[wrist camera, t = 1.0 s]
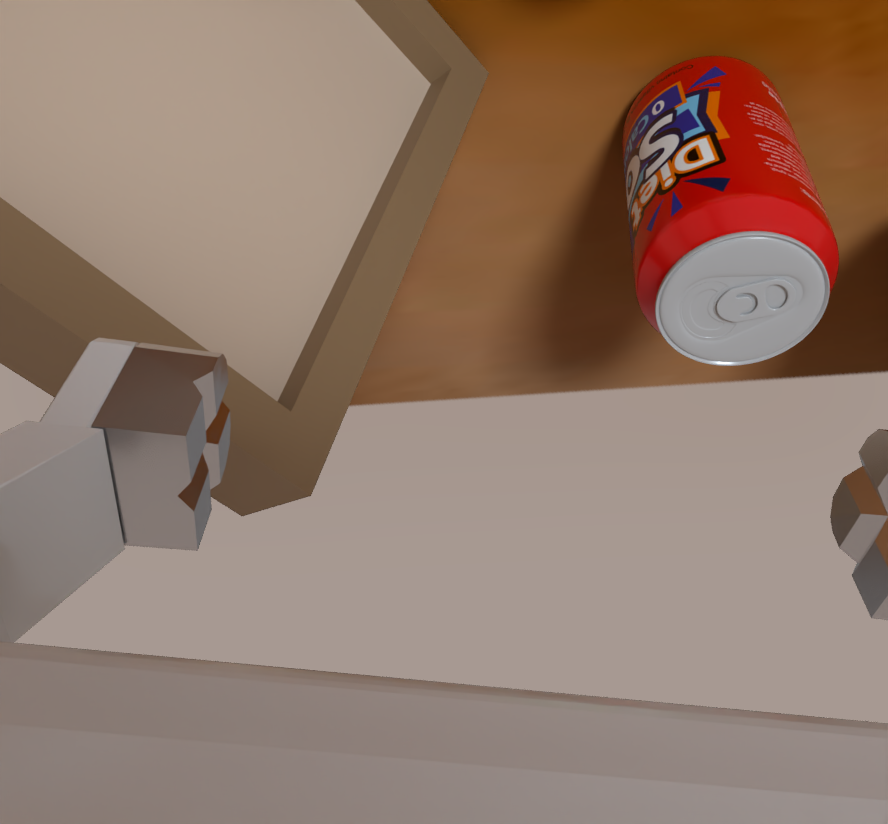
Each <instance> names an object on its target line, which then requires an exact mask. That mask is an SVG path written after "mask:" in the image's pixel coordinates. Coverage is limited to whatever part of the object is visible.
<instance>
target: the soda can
mask: <svg viewBox="0 0 888 824" xmlns="http://www.w3.org/2000/svg"><path fill="white" fill-rule="evenodd" d="M622 150H623V162H624V173H625V184H626V195H627V206H628V217H629V228H630V238H631V249H632V260H633V271H634V282H635V289H636V295H637V300H638V303H639V305H640V308H641V310H642V312H643V314H644V316H645V318H646V319H647V321H648V322H649V323H650V324H651V326H652V327H653V328H654V329H655V330H656V331H658V332H659V333H660V334H661V335H663V337H664V338H665V340H666V341H667V342H668V343H669V344H670V345H671V346H672V347H673V348H674V349H675V350H677V351H678V352H680V353H681V354H683V355H685V356H687V357H689V358H691V359H693V360H696V361H699V362H703V363H707V364H712V365H722V366H734V365H745V364H751V363H755V362H759V361H763V360H766V359H769V358H771V357H774V356H776V355H779V354H781V353H783V352H785V351H786V350H788V349H790V348H791V347H793V346H794V345H796V344H797V343H799V342H800V341H801V340H803V339H804V338H805V337H806V336H807V335H808V334H809V333H810V332H811V331H812V330H813V329H814V328H815V326H816V325H817V324H818V322H819V321H820V319H821V318H822V316H823V314H824V312H825V309H826V307H827V304H828V300H829V295H830V293H831V291H832V289H833V286H834V284H835V281H836V278H837V274H838V267H839V254H838V246H837V242H836V239H835V236H834V233H833V230H832V227H831V225H830V222H829V219H828V217H827V214H826V212H825V209H824V207H823V204H822V202H821V199H820V197H819V194H818V192H817V189H816V186H815V184H814V181H813V179H812V176H811V174H810V171H809V169H808V166H807V164H806V161H805V159H804V156H803V154H802V151H801V148H800V146H799V143H798V141H797V138H796V136H795V133H794V131H793V128H792V126H791V123H790V121H789V118H788V115H787V113H786V110H785V108H784V105H783V103H782V100H781V98H780V96H779V94H778V92H777V90H776V88H775V87H774V85H773V84H772V82H771V81H770V80H769V79H768V78H767V76H766V75H765V74H764V73H762V72H761V71H760V70H759V69H757V68H756V67H754V66H753V65H751V64H749V63H747V62H745V61H742V60H739V59H736V58H732V57H725V56H705V57H698V58H694V59H690V60H687V61H684V62H681V63H679V64H677V65H674V66H672V67H670V68H669V69H667V70H665V71H664V72H662V73H661V74H659V75H658V76H657V77H655V78H654V79H653V80H652V81H651V82H650V83H648V84H647V85H646V87H645V88H644V89H643V90H642V91H641V92H640V94H639V95H638V96H637V98H636V99H635V101H634V102H633V104H632V106H631V108H630V110H629V112H628V115H627V117H626V121H625V124H624V129H623V137H622Z"/></svg>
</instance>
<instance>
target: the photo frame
mask: <svg viewBox="0 0 888 824" xmlns="http://www.w3.org/2000/svg"><path fill="white" fill-rule="evenodd" d="M488 74H489V73H488V72H487V70H486V69H485V68H484V67H483V66H482V64H481V63H480V62H479V61H478V60H477V59H476V57H475V56H474V55H473V54H472V53H471V52H470V50H469V49H468V48H467V47H466V46H465V45H464V43H463V42H462V41H461V40H460V39H459V38H458V36H457V35H456V34H455V33H454V32H453V31H452V29H451V28H450V27H449V26H448V25H447V23H446V22H445V21H444V20H443V19H442V18H441V16H440V15H439V14H438V13H437V12H436V11H435V9H434V8H433V7H432V6H431V5H430V4H429V2H428V1H427V0H0V363H1V364H3V365H5V366H6V367H8V368H9V369H11V370H12V371H14V372H15V373H17V374H19V375H20V376H22V377H23V378H25V379H26V380H28V381H30V382H31V383H33V384H35V385H36V386H37V387H39V388H41V389H42V390H44V391H45V392H47V393H48V394H50V395H52V396H53V397H55V396H56V395H57V393H58V392H59V390H60V388H61V387H62V385H63V384H64V382H65V381H66V379H67V377H68V376H69V374H70V373H71V371H72V369H73V368H74V366H75V365H76V363H77V362H78V360H79V358H80V357H81V355H82V354H83V352H84V350H85V349H86V347H87V346H88V344H89V343H90V342H91V341H93V340H95V339H97V338H106V339H115V340H123V341H131V342H137V343H148V344H156V345H163V346H171V347H178V348H185V349H193V350H200V351H207V352H215V353H222V354H223V355H224V356H225V358H226V360H227V370H228V384H227V387H226V390H225V393H224V395H223V398H222V401H223V403H224V404H225V405H226V406H227V407H228V408H229V409H230V423H231V428H230V445H229V450H228V456H227V462H226V466H225V470H224V473H223V476H222V479H221V483H220V484H218V485H217V486H215V487H214V488H212V489H211V490H210V494H211V497H213V498H214V499H216V500H217V501H219V502H220V503H222V504H223V505H225V506H227V507H228V508H230V509H231V510H233V511H234V512H236V513H238V514H239V515H241V516H245V515H248V514H251V513H254V512H258V511H261V510H264V509H268V508H271V507H275V506H277V505H281V504H285V503H288V502H291V501H295V500H298V499H301V498H305V497H308V496H311V494H312V492H313V489H314V487H315V485H316V482H317V480H318V477H319V475H320V473H321V470H322V468H323V466H324V463H325V461H326V458H327V456H328V454H329V451H330V449H331V446H332V444H333V442H334V440H335V437H336V435H337V432H338V430H339V427H340V425H341V423H342V420H343V418H344V416H345V413H346V411H347V409H348V406H349V404H350V402H351V399H352V397H353V394H354V392H355V390H356V387H357V385H358V383H359V380H360V378H361V375H362V373H363V371H364V368H365V366H366V364H367V361H368V359H369V356H370V354H371V352H372V349H373V347H374V345H375V342H376V340H377V337H378V335H379V333H380V330H381V328H382V326H383V323H384V321H385V318H386V316H387V314H388V311H389V309H390V307H391V304H392V302H393V299H394V297H395V295H396V292H397V290H398V288H399V285H400V283H401V280H402V278H403V276H404V273H405V271H406V269H407V266H408V264H409V261H410V259H411V257H412V254H413V252H414V250H415V247H416V245H417V242H418V240H419V238H420V235H421V233H422V231H423V228H424V226H425V223H426V221H427V219H428V216H429V214H430V212H431V209H432V207H433V204H434V202H435V200H436V197H437V195H438V193H439V190H440V188H441V185H442V183H443V181H444V178H445V176H446V174H447V171H448V169H449V166H450V164H451V162H452V159H453V157H454V155H455V152H456V150H457V147H458V145H459V143H460V140H461V138H462V136H463V133H464V131H465V128H466V126H467V124H468V121H469V119H470V117H471V114H472V112H473V109H474V107H475V105H476V102H477V100H478V98H479V95H480V93H481V90H482V88H483V86H484V83H485V81H486V79H487V76H488Z"/></svg>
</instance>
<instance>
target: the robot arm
mask: <svg viewBox="0 0 888 824" xmlns="http://www.w3.org/2000/svg"><path fill="white" fill-rule="evenodd" d="M227 384H228V370H227V360H226V358H225V356H224V355H223V354H222V353H215V352H207V351H200V350H193V349H185V348H178V347H171V346H163V345H156V344H148V343H137V342H131V341H123V340H115V339H106V338H97V339H95V340H93V341H91V342H90V343H89V344H88V346H87V347H86V349H85V350H84V352H83V354H82V355H81V357H80V358H79V360H78V362H77V363H76V365H75V366H74V368H73V369H72V371H71V373H70V374H69V376H68V377H67V379H66V381H65V382H64V384H63V385H62V387H61V388H60V390H59V392H58V393H57V395H56V396H55V398H54V400H53V401H52V403H51V404H50V406H49V408H48V409H47V411H46V412H45V414H44V415H43V417H42V419H41V420H40V422H33V421H25V422H23V423H21V424H19V425H17V426H15V427H13V428H11V429H9V430H7V431H5V432H3V433H1V434H0V824H888V723H878V722H868V721H856V720H845V719H834V718H824V717H814V716H803V715H792V714H781V713H770V712H759V711H749V710H738V709H727V708H717V707H716V708H715V707H706V706H695V705H684V704H673V703H662V702H651V701H641V700H629V699H619V698H608V697H596V696H586V695H575V694H565V693H553V692H543V691H532V690H520V689H510V688H500V687H488V686H478V685H477V686H476V685H466V684H456V683H446V682H434V681H423V680H413V679H401V678H391V677H380V676H370V675H359V674H348V673H337V672H326V671H315V670H305V669H294V668H283V667H272V666H261V665H250V664H239V663H229V662H218V661H206V660H196V659H185V658H174V657H163V656H153V655H142V654H131V653H119V652H109V651H98V650H88V649H77V648H65V647H55V646H43V645H34V644H22V643H14V642H15V641H16V640H17V639H19V638H20V637H21V636H22V635H23V634H25V633H26V632H27V631H28V630H29V629H31V628H32V627H33V626H34V625H35V624H36V623H38V622H39V621H40V620H41V619H42V618H44V617H45V616H46V615H47V614H48V613H49V612H51V611H52V610H53V609H54V608H56V607H57V606H58V605H59V604H60V603H61V602H62V601H64V600H65V599H66V598H67V597H69V596H70V595H71V594H72V593H73V592H74V591H76V590H77V589H78V588H79V587H80V586H81V585H83V584H84V583H85V582H86V581H88V580H89V579H90V578H91V577H92V576H93V575H94V574H96V573H97V572H98V571H99V570H101V569H102V568H103V567H104V566H105V565H107V564H108V563H109V562H110V561H111V560H112V559H114V558H115V557H116V556H117V555H118V554H120V553H121V552H122V551H123V550H124V549H125V548H124V545H129V546H143V547H156V548H170V549H184V550H196V551H197V550H198V548H199V545H200V542H201V539H202V536H203V533H204V530H205V527H206V524H207V521H208V518H209V515H210V512H211V494H210V490H211V489H212V488H214V487H215V486H217V485H218V484H220V483H221V479H222V476H223V473H224V470H225V466H226V462H227V456H228V450H229V445H230V428H231V423H230V409H229V408H228V407H227V406H226V405H225V404H224V403H223V401H222V398H223V395H224V393H225V390H226V387H227ZM859 455H860V459H861V462H862V465H863V466H862V467H860V468H859V469H857V470H855V471H854V472H852V473H851V474H849V475H847V476H845V477H844V478H843V479H842V481H841V483H840V485H839V487H838V489H837V491H836V493H835V494H834V496H833V502H832V509H831V517H830V518H831V524H832V531H833V534H834V536H835V539H836V541H837V543H838V546H839V548H840V549H841V550H843V551H844V552H845V553H846V554H847V555H848V556H850V557H851V558H852V559H853V560H855V561H856V562H857V565H856V567H855V569H854V572H853V574H852V577H853V579H854V581H855V583H856V586H857V588H858V590H859V592H860V594H861V596H862V599H863V601H864V603H865V605H866V607H867V609H868V612H869V614H870V616H871V618H875V619H884V620H888V430H883V429H878V430H877V431H876V432H875V433H873V434H872V435H871V436H869V437H868V438H867V440H866V441H865V443H864V445H863V446H862V448H861V450H860V451H859Z"/></svg>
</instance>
